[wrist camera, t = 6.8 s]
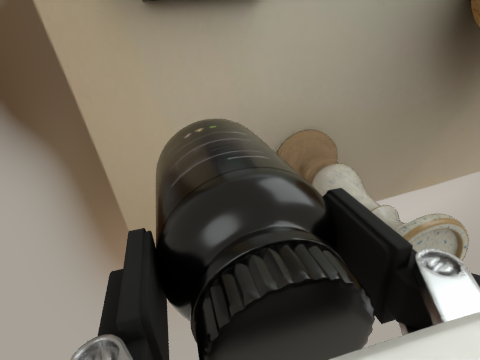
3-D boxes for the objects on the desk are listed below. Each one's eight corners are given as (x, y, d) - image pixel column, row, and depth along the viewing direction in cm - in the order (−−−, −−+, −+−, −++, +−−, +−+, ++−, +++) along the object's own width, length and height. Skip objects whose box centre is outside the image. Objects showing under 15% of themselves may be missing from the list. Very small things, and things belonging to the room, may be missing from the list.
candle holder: (330, 120, 37) (487, 194, 20) (336, 178, 41) (469, 282, 24) (266, 142, 36) (371, 241, 19) (279, 199, 41) (374, 323, 23)
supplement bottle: (276, 194, 20) (410, 367, 9) (181, 232, 19) (213, 462, 9) (249, 96, 17) (411, 198, 6) (134, 139, 16) (94, 333, 5)
